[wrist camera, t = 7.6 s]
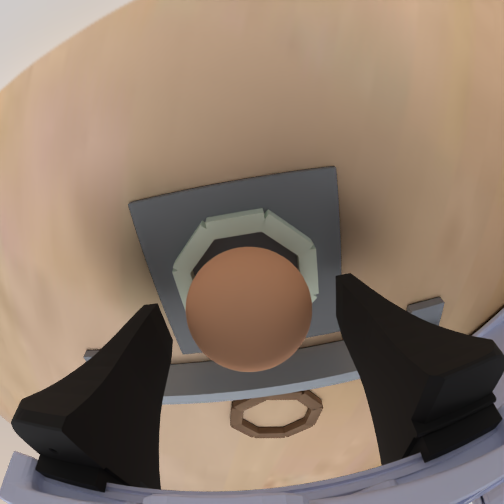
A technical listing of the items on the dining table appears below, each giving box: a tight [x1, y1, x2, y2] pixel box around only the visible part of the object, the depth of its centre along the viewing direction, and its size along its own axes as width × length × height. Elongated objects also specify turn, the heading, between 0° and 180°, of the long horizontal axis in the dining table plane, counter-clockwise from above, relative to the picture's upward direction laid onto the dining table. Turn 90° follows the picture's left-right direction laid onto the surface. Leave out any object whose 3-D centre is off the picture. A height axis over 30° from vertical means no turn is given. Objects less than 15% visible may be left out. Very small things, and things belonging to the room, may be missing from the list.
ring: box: [230, 390, 323, 438], centre depth 20 cm, size 6×6×1 cm
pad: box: [128, 166, 341, 354], centre depth 14 cm, size 9×9×1 cm
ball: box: [186, 247, 312, 372], centre depth 12 cm, size 5×5×5 cm
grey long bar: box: [84, 297, 444, 404], centre depth 16 cm, size 22×4×2 cm, turn 99°
